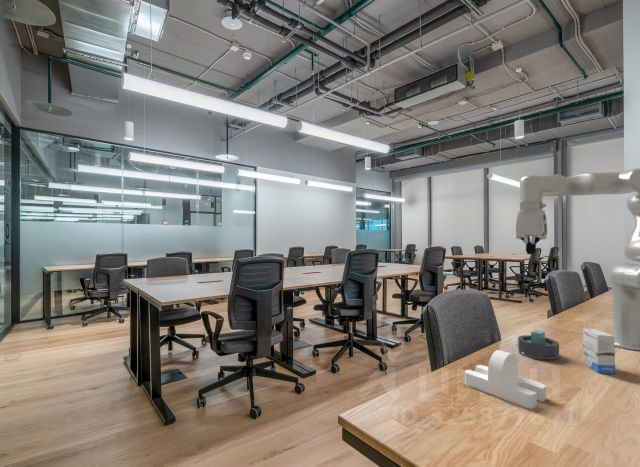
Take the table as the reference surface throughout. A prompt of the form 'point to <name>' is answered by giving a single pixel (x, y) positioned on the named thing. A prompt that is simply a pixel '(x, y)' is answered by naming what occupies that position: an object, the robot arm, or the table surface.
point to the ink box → (599, 350)
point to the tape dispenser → (505, 381)
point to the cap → (538, 337)
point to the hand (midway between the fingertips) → (530, 253)
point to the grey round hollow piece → (538, 348)
